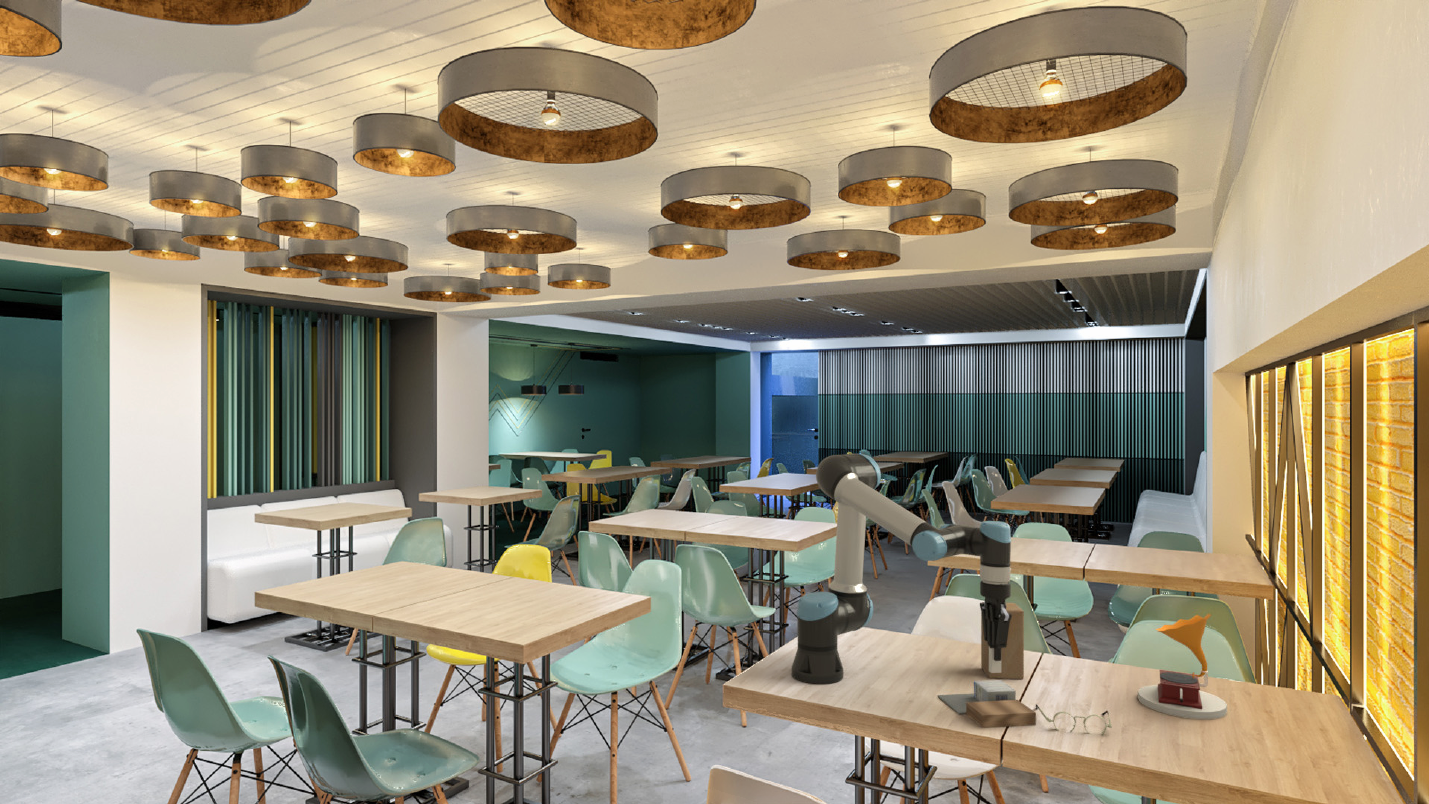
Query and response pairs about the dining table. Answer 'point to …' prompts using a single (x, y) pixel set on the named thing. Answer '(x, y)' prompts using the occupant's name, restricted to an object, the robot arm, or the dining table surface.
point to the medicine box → (993, 691)
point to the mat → (958, 701)
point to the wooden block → (1008, 647)
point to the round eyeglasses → (1075, 720)
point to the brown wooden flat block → (1000, 713)
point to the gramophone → (1184, 679)
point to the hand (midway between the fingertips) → (995, 671)
